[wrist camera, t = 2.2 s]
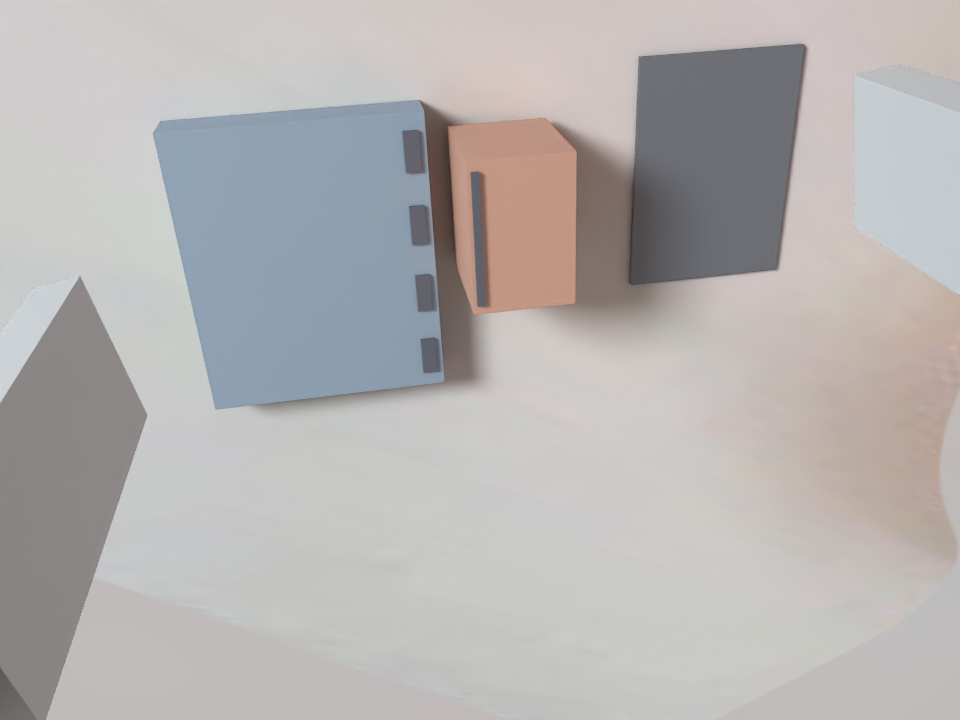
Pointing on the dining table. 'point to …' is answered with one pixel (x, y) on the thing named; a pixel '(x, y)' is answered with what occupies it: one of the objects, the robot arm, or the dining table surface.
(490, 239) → the stub
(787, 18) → the dining table surface
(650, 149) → the mat
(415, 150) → the board
